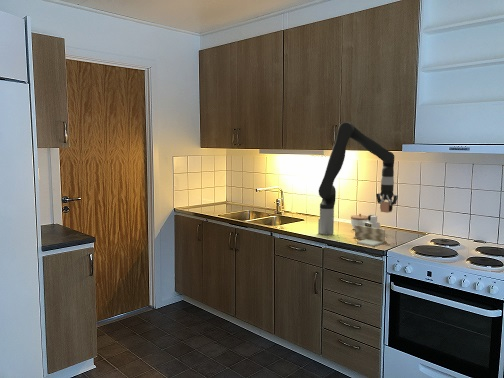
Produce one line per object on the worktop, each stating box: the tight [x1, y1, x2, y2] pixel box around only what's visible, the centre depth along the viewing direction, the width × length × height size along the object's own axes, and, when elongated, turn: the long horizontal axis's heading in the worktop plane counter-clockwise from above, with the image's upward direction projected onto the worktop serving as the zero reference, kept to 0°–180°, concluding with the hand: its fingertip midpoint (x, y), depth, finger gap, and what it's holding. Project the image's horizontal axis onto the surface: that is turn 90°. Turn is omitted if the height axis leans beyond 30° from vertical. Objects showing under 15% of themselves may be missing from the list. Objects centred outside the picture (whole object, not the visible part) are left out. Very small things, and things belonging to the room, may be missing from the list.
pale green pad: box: [356, 239, 383, 247], centre depth 258 cm, size 11×10×1 cm
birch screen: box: [353, 225, 387, 244], centre depth 267 cm, size 20×5×8 cm, turn 44°
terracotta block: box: [380, 201, 393, 214], centre depth 269 cm, size 5×5×6 cm
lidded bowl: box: [350, 213, 369, 230], centre depth 299 cm, size 13×13×11 cm
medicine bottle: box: [365, 214, 381, 229], centre depth 288 cm, size 7×7×12 cm
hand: (386, 210), depth 269 cm, fingers closed on terracotta block, 5 cm apart
